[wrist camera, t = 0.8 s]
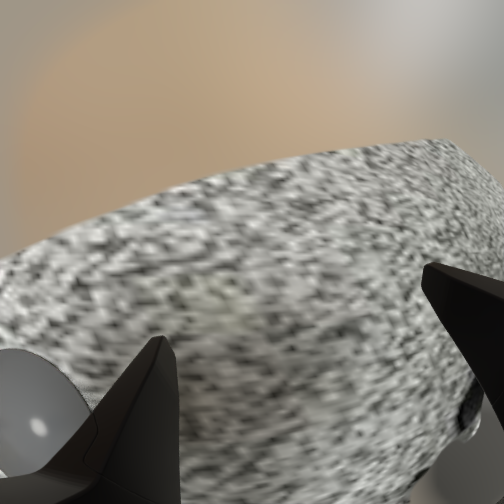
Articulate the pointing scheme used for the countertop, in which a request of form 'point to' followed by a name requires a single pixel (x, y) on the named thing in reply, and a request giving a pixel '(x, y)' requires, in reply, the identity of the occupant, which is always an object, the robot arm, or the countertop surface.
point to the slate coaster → (35, 411)
